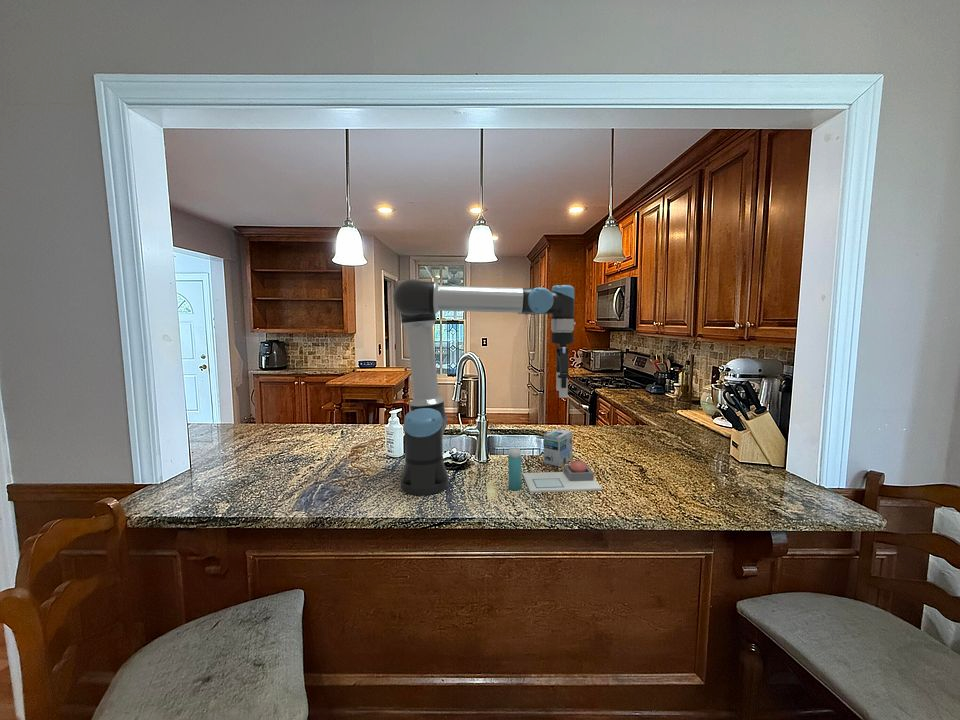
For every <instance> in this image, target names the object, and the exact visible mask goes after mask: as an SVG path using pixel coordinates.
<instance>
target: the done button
mask: <svg viewBox="0 0 960 720" xmlns="http://www.w3.org/2000/svg"><path fill="white" fill-rule="evenodd" d="M569 463H570V464H569V465H570V471H571V472H572V473H577V472H586V465H587V462H585V461H582V460H573V461H572V460H571V461H569Z"/></svg>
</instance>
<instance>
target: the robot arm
mask: <svg viewBox="0 0 960 720" xmlns="http://www.w3.org/2000/svg"><path fill="white" fill-rule="evenodd" d="M575 300H576V298H575V287H574V286H572V285H570V284H561V285H558V284H556V285H553V286H552V287H551V291H550V290H549V289H548V288H546V287H540V286H537V287H535V288H533V287H525V288H524V287H502V286H501V287H499V286H475V285H474V286H473V285H472V286H471V285H470V286H467V285H465V286H464V285H440V284H439V283H438V282H437V281H428V280H427V281H425V280H418V279H406V280H404V281H402V282H401V283H399V284H398V285H397V286H396V287H395V290H394V292H393V303H394V306H395V308H396V309H397V311H398V312H399V313H400V320H401V321H400V323H401V325H402V326H403V327H404V328H406V335H407V336H406V337H407V344H408V345H407V346H408V355H409V365H410V374H411V383H412V392H413V399H411V402H410V403H409V408H410V411H408V412H407V413H406V414H405V416H404V420H403V421H404V422H403V429H404V432H403V433H404V455H405V456H404V457H405V461H404V467H403V470H402V472H401V473H402V474H401V477H400V480H399V481H400V482H399V483H400V490H401V489H402V490H403V491H402V490H401V491H402V492H404V493H405V492H406V494H408V495H412V496H414V495H415V496H429V495H434V494H438V493H441V492H443V491H444V490H446V489H447V488H448V487H449V486H450V476H449V474H448V471H447V468H446V465H445V461H444V458H443V457H444V456H443V452H444V451H443V450H444V449H443V445H444V444H443V436H444V433H445V430H446V428H447V424H448V415H447V412H446V409H445V408H446V407H445V401H444V399H443V398H442V397H441V396H440V395H439V394H440V393H439V384H438V375H437V365H436V364H437V362H436V361H437V360H436V354H435V342H434V333H433V326H434V325H435V324H436V322H437V317H436V316H437V315H436V314H437V313H439V312H441V311H442V312H473V313H474V312H477V313H478V312H480V313H481V312H482V313H486V312H487V313H513V314H514V313H517V314H518V315H550V316H551V320H550V324H551V326H550V330H551V331H552V332H551V335H550V336H551V337H550V338H551V339H550V342H551V344H554V345H556V349H555V357H556V365H555V366H556V367H555V370H556V379H555V380H556V382H555V383H556V385H555V389H556V391H558V398H561V399H562V398H563V399H568V395H569V394H568V391H569V390H568V388H569V387H568V386H569V376H570V374H569V347H568V346H567V345H568V344H569V345H570V344H571V345H572V344H574V342H575V333H574V330H575V325H576V324H577V323H576V321H575Z"/></svg>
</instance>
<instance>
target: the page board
mask: <svg viewBox="0 0 960 720" xmlns="http://www.w3.org/2000/svg"><path fill="white" fill-rule="evenodd" d="M522 476H523V479H524V481H525V484H526V486H527V488H528V491H529V493H533V494H534V493H556V492H557V493H561V492H562V493H563V492H586V491H588V492H589V491H591V492H592V491H603V487H602V486H601V485H600V484H599V482H597V480H596V479H595V478H594V471H593V470H591V469H590V467H589V466H588V465H587V464H586V472H577V473H572V472H571V471H570V464H568V465H567V464H566V465H565V464H564V465H563V471H556V472H555V471H550V472H549V471H548V472H547V471H546V472H545V471H544V472H523V473H522Z"/></svg>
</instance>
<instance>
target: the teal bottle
mask: <svg viewBox="0 0 960 720" xmlns="http://www.w3.org/2000/svg"><path fill="white" fill-rule="evenodd" d="M507 458H508V459H507V460H508V461H507V463H508V464H507V465H508V467H507V468H508V469H507V470H508V473H507V474H508V475H507V476H508V477H507V478H508V479H507V480H508V486H507V487H508V489H509V490H511V491H519V490H521V489H522V455H521V449H520V448H517V447H512V448H509V449H508V456H507Z"/></svg>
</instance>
